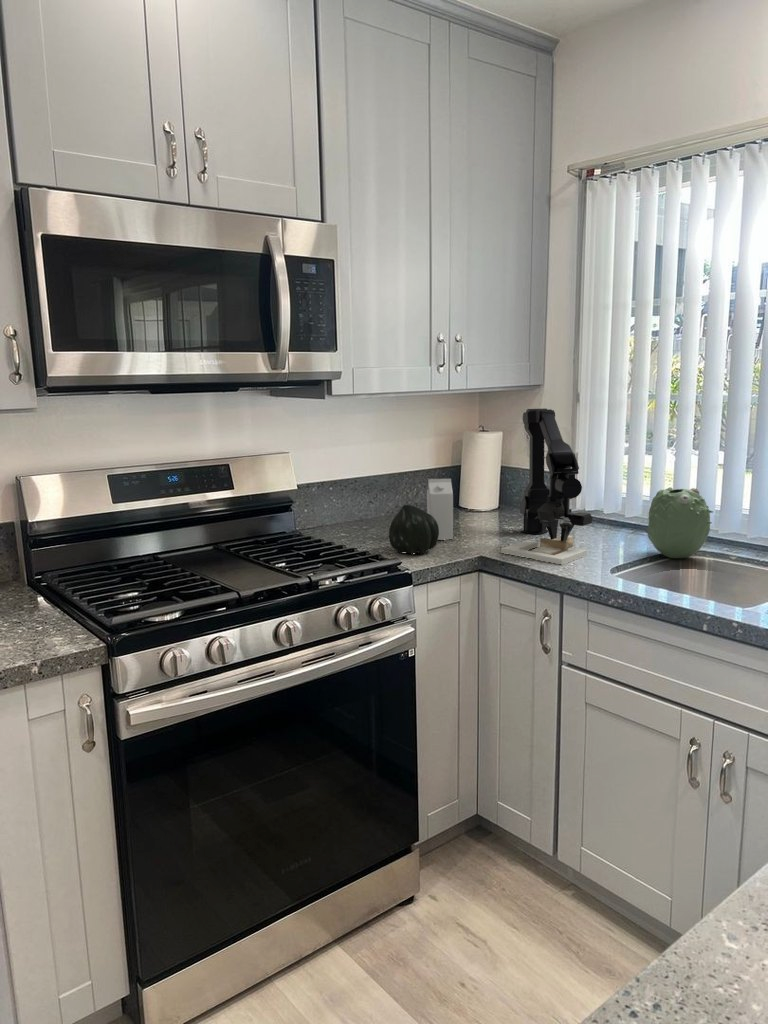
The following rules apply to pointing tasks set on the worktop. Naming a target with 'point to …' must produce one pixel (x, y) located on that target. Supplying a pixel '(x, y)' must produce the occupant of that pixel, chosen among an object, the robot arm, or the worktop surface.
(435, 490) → the milk carton
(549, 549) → the pale beige block
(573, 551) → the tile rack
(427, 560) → the worktop surface
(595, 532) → the worktop surface
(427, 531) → the squash
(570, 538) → the wooden pusher
